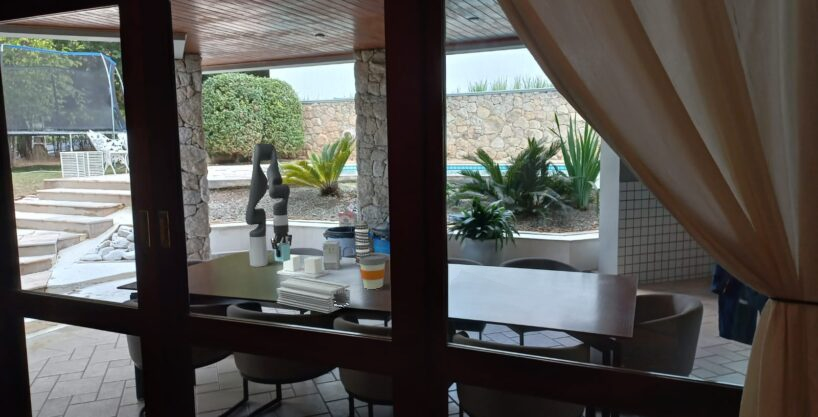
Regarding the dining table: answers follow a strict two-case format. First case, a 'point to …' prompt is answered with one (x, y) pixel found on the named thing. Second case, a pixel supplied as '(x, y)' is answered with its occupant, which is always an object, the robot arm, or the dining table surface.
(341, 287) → the aluminum extrusion profile
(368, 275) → the reusable coffee cup
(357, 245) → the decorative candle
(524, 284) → the dining table surface
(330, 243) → the circuit breaker
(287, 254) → the block
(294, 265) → the rail panel
